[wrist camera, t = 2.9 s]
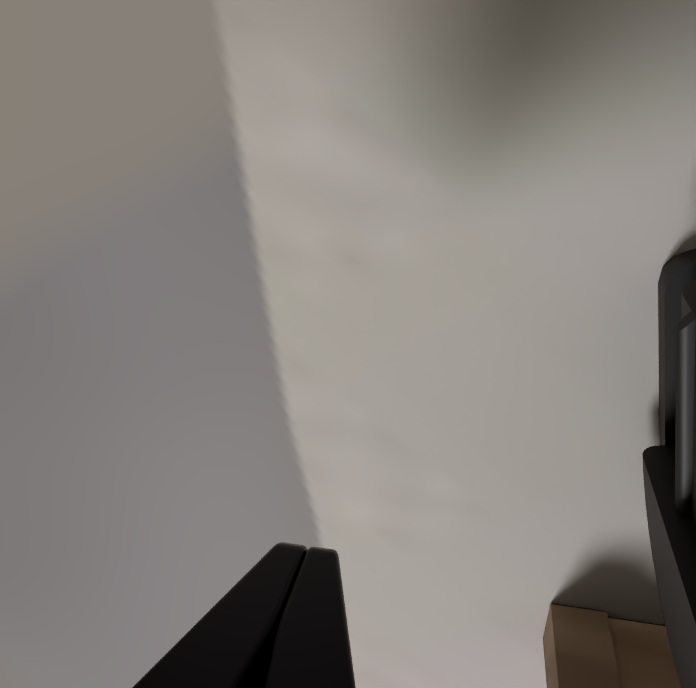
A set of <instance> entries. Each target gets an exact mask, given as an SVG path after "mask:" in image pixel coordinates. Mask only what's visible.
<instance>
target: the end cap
mask: <svg viewBox="0 0 696 688" xmlns="http://www.w3.org/2000/svg"><path fill="white" fill-rule="evenodd" d="M658 318H659V427H660V442H661V446H652V447H649V448H647V449H645V450H644V452H643V474H644V488H645V500H646V510H647V519H648V528H649V535H650V542H651V550H652V557H653V563H654V569H655V575H656V581H657V586H658V592H659V597H660V602H661V607H662V612H663V617H664V622H665V626H666V631H667V635H668V640H669V644H670V648H671V652H672V656H673V660H674V664H675V668H676V671H677V675H678V678H679V682H680V685H681V688H696V249H694V250H690V251H687V252H684V253H682V254H679V255H676V256H674V257H673V258H672V259H671V260H670V261H669V262H668V263H667V264H666V265H665V266H664V267H663V269H662V272H661V275H660V279H659V282H658Z"/></svg>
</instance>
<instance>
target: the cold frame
mask: <svg viewBox="0 0 696 688" xmlns="http://www.w3.org/2000/svg"><path fill="white" fill-rule="evenodd" d="M543 645H544V657H545V670H546V682H547V688H681V685H680V682H679V678H678V675H677V671H676V668H675V664H674V660H673V656H672V652H671V648H670V644H669V640H668V635H667V631H666V626H660V625H653V624H646V623H640V622H633V621H626V620H619V619H613V618H608V615H607V612H601V611H594V610H588V609H581V608H574V607H567V606H560V605H553V604H551V605H550V609H549V614H548V618H547V623H546V627H545V632H544V636H543Z"/></svg>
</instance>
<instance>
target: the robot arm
mask: <svg viewBox="0 0 696 688" xmlns="http://www.w3.org/2000/svg"><path fill="white" fill-rule="evenodd" d="M133 688H355V680H354V672H353V664H352V657H351V649H350V641H349V634H348V626H347V618H346V611H345V603H344V595H343V587H342V580H341V572H340V564H339V557H338V553H337V551H335V550H333V549H326V548H319V547H311V548H309V549H308V550H307V548H306V547H305V546H303V545H298V544H291V543H278V544H276V545H275V546H274V547H273V548H272V549H271V550H270V551H269V552H268V553H267V554H266V555H265V556H264V557H263V558H262V559H261V560H260V561H259V562H258V563H257V564H256V565H255V566H254V567H253V568H252V569H251V570H250V571H249V572H248V573H247V574H246V575H245V576H244V577H243V578H242V579H241V580H240V581H239V582H238V583H237V584H236V585H235V586H234V587H233V588H232V589H231V590H230V591H229V592H228V593H227V594H226V595H225V596H224V597H223V598H222V599H221V600H220V601H219V602H218V603H217V604H216V605H215V606H214V607H213V608H212V609H211V610H210V611H209V612H208V613H207V614H206V615H205V616H204V617H203V618H202V619H201V620H200V621H199V622H198V623H197V624H196V625H195V626H194V627H193V628H192V629H191V630H190V631H189V632H188V633H187V634H186V635H185V636H184V637H183V638H182V639H181V640H180V641H179V642H178V643H177V644H176V645H175V646H174V647H173V648H172V649H171V650H170V651H169V652H168V653H167V654H166V655H165V656H164V657H163V658H162V659H161V660H160V661H159V662H158V663H157V664H156V665H155V666H154V667H153V668H152V669H151V670H150V671H149V672H148V673H147V674H146V675H145V676H144V677H143V678H142V679H141V680H140V681H139V682H138V683H137V684H136V685H135V686H134V687H133Z"/></svg>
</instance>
